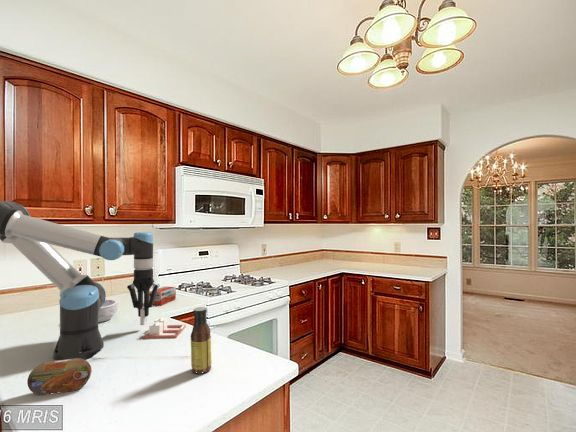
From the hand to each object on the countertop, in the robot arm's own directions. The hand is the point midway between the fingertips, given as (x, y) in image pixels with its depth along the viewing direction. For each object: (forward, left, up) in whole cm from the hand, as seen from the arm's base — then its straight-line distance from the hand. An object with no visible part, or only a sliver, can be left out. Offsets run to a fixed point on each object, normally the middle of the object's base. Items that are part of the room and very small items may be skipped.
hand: (143, 323), depth 134 cm
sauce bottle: (-35, -32, -4) cm, 47 cm away
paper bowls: (+19, +29, -4) cm, 35 cm away
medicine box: (+51, +10, -4) cm, 52 cm away
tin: (-45, +5, -4) cm, 45 cm away
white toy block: (0, -7, -3) cm, 8 cm away
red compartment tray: (-3, -10, -4) cm, 11 cm away
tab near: (-6, -8, -3) cm, 10 cm away
